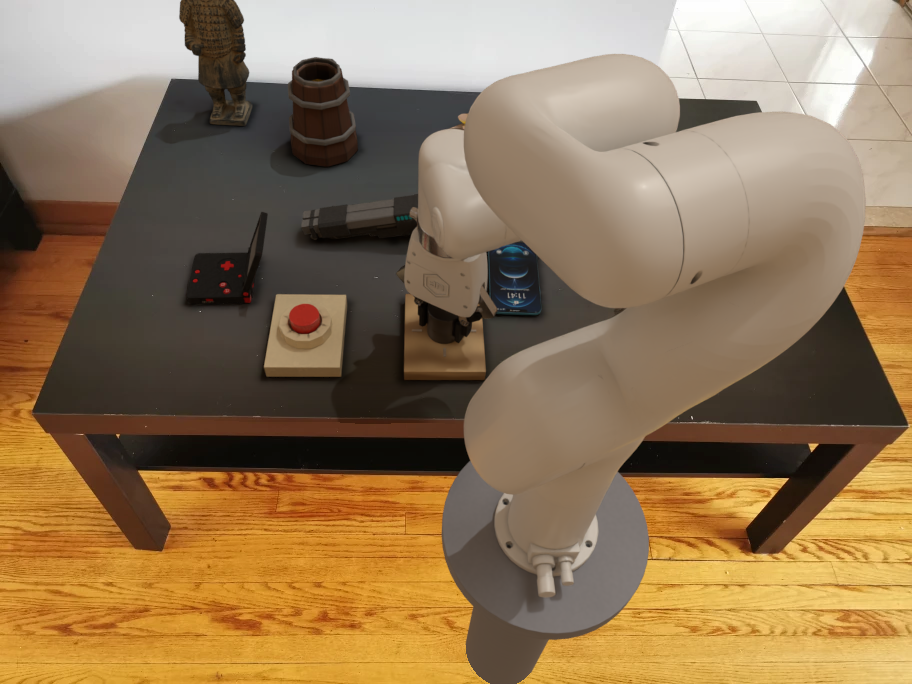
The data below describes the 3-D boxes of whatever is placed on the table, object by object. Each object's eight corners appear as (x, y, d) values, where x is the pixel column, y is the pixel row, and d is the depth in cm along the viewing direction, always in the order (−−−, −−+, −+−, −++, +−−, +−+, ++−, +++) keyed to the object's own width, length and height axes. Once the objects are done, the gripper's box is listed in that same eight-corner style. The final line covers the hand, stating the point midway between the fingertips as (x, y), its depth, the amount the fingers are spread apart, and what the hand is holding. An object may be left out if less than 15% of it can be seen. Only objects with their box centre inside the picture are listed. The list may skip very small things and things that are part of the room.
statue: (199, 124, 128) (151, -49, 105) (210, 100, 133) (166, -71, 109) (256, 128, 128) (221, -45, 105) (265, 104, 133) (233, -67, 110)
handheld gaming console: (197, 259, 108) (180, 209, 100) (278, 257, 109) (267, 208, 101) (187, 305, 102) (168, 256, 94) (273, 303, 103) (261, 254, 95)
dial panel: (484, 380, 96) (486, 371, 95) (404, 380, 96) (403, 370, 94) (479, 303, 105) (480, 293, 103) (405, 302, 104) (405, 292, 103)
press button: (319, 334, 95) (317, 326, 94) (289, 334, 95) (287, 325, 94) (321, 311, 98) (320, 303, 96) (292, 311, 97) (290, 303, 96)
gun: (442, 244, 111) (422, 197, 104) (327, 272, 116) (299, 229, 108) (442, 224, 114) (422, 178, 107) (329, 253, 118) (302, 209, 111)
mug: (350, 170, 122) (344, 93, 111) (282, 162, 123) (268, 84, 111) (369, 118, 132) (365, 42, 120) (306, 110, 133) (295, 34, 121)
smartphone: (535, 242, 113) (542, 313, 103) (535, 245, 113) (541, 316, 104) (487, 240, 112) (490, 311, 103) (487, 243, 113) (489, 314, 103)
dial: (467, 326, 99) (469, 301, 95) (451, 349, 97) (452, 324, 92) (437, 312, 101) (438, 287, 96) (420, 335, 98) (420, 310, 94)
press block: (341, 377, 95) (338, 359, 92) (266, 376, 95) (261, 359, 92) (347, 304, 103) (345, 286, 100) (278, 304, 103) (274, 285, 100)
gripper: (371, 223, 84) (377, 321, 98) (499, 277, 79) (486, 371, 94) (404, 188, 88) (405, 287, 102) (527, 237, 84) (510, 333, 98)
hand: (444, 326), depth 98 cm, fingers closed on dial, 4 cm apart
